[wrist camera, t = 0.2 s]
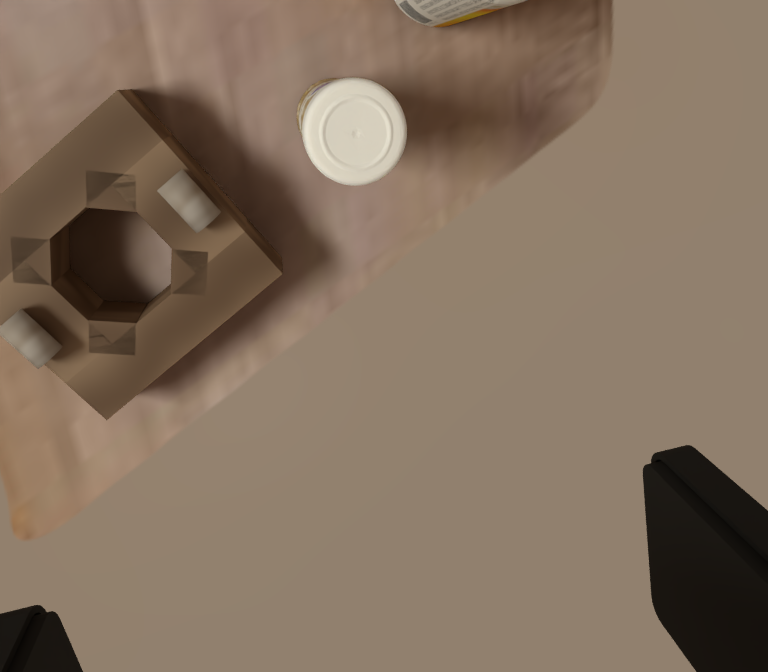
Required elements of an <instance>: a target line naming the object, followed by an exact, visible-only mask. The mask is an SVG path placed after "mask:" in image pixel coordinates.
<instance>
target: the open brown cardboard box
mask: <svg viewBox="0 0 768 672" xmlns="http://www.w3.org/2000/svg"><path fill="white" fill-rule="evenodd" d="M88 208H98V209H109V210H121V211H132V212H137V213H138V214H139V215H140V216H141V217H142V218H143V219H144V220H145V221H146V222H147V223H148V224H149V225H150V226H151V227H152V228H153V229H154V230H155V231H156V232H157V234H158V235H159V236H160V237H161V238H162V239H163V240H164V241H165V242H166V243H167V244H168V245H169V246H170V247H171V248H172V263H171V284H170V285H169V286H168V287H167V288H166V289H164V290H163V291H162V292H161V293H160V294H158V295H157V296H156V297H155V298H154V299H153V300H151V301H150V302H149V303H148V304H147V303H133V302H118V301H103V300H102V299H101V298H100V297H99V296H98V295H97V294H96V293H95V292H94V291H93V290H92V289H91V288H90V287H89V286H88V285H87V284H86V283H85V282H84V281H82V280H81V279H80V278H79V277H78V276H77V275H76V274H75V273H74V272H73V271H72V270H71V269H70V237H69V225H70V224H71V223H72V222H74V221H75V220H76V219H77V218H78V217H79V216H80V215H82V214H83V213H84V212H85V211H86V210H87V209H88ZM282 274H283V268H282V258H281V256H280V255H279V254H278V253H277V252H276V251H275V250H274V249H273V247H272V246H271V245H270V244H269V243H268V242H267V241H266V240H265V238H264V237H263V236H262V235H261V234H260V233H259V232H258V231H257V229H256V228H255V227H254V226H253V225H252V224H251V223H250V222H249V220H248V219H247V218H246V217H245V216H244V215H243V214H242V213H241V211H240V210H239V209H238V208H237V207H236V206H235V205H234V204H233V202H232V201H231V200H230V199H229V198H228V197H227V196H226V195H225V193H224V192H223V191H222V190H221V189H220V188H219V187H218V186H217V184H216V183H215V182H214V181H213V180H212V179H211V178H210V177H209V176H208V174H207V173H206V172H205V171H204V170H203V169H202V168H201V167H200V165H199V164H198V163H197V162H196V161H195V160H194V159H193V158H192V156H191V155H190V154H189V153H188V152H187V151H186V150H185V149H184V147H183V146H182V145H181V144H180V143H179V142H178V141H177V140H176V138H175V137H174V136H173V135H172V134H171V133H170V132H169V131H168V129H167V128H166V127H165V126H164V125H163V124H162V123H161V122H160V120H159V119H158V118H157V117H156V116H155V115H154V114H153V113H152V111H151V110H150V109H149V108H148V107H147V106H146V105H145V104H144V102H143V101H142V100H141V99H140V98H139V97H138V96H137V95H136V94H135V92H134V91H133V90H132V89H130V90H117V91H116V92H115V93H114V94H113V95H112V96H110V97H109V98H108V99H107V100H106V101H105V102H104V103H103V104H101V105H100V106H99V107H98V108H97V109H96V110H95V111H94V112H92V113H91V114H90V115H89V116H88V117H87V118H86V119H85V120H84V121H82V122H81V123H80V124H79V125H78V126H77V127H76V128H75V129H73V130H72V131H71V132H70V133H69V134H68V135H67V136H66V137H65V138H63V139H62V140H61V141H60V142H59V143H58V144H57V145H56V146H54V147H53V148H52V149H51V150H50V151H49V152H48V153H47V154H45V155H44V156H43V157H42V158H41V159H40V160H39V161H38V162H37V163H35V164H34V165H33V166H32V167H31V168H30V169H29V170H28V171H26V172H25V173H24V174H23V175H22V176H21V177H20V178H19V179H18V180H16V181H15V182H14V183H13V184H12V185H11V186H10V187H9V188H7V189H6V190H5V191H4V192H3V193H2V194H1V195H0V325H1V326H0V336H1V337H3V338H4V339H5V340H6V341H7V342H8V343H9V344H10V345H12V346H13V347H14V348H15V349H16V350H17V351H18V352H19V353H21V354H22V355H23V356H24V357H25V358H26V359H27V360H28V361H30V362H31V363H32V364H33V365H34V366H35V367H36V368H37V369H39V368H40V367H42V366H43V365H44V364H45V365H46V366H47V367H48V368H49V369H50V370H51V371H52V372H53V373H55V374H56V375H57V376H58V377H59V378H60V379H61V380H62V381H64V382H65V383H66V384H67V385H68V386H69V387H70V388H71V389H73V390H74V391H75V392H76V393H77V394H78V395H79V396H80V397H81V398H83V399H84V400H85V401H86V402H87V403H88V404H89V405H90V406H92V407H93V408H94V409H95V410H96V411H97V412H98V413H99V414H101V415H102V416H103V417H104V418H105V419H106V420H107V419H109V418H110V417H111V416H112V415H113V414H115V413H116V412H117V411H118V410H119V409H121V408H122V407H123V406H124V405H125V404H127V403H128V402H129V401H130V400H132V399H133V398H134V397H135V396H136V395H138V394H139V393H140V392H141V391H142V390H144V389H145V388H146V387H147V386H148V385H150V384H151V383H152V382H153V381H154V380H156V379H157V378H158V377H159V376H160V375H162V374H163V373H164V372H165V371H166V370H168V369H169V368H170V367H171V366H172V365H174V364H175V363H176V362H177V361H178V360H180V359H181V358H182V357H183V356H184V355H186V354H187V353H188V352H189V351H190V350H192V349H193V348H194V347H195V346H197V345H198V344H199V343H200V342H201V341H203V340H204V339H205V338H206V337H207V336H209V335H210V334H211V333H212V332H213V331H215V330H216V329H217V328H218V327H219V326H221V325H222V324H223V323H224V322H225V321H227V320H228V319H229V318H230V317H231V316H233V315H234V314H235V313H236V312H237V311H239V310H240V309H241V308H242V307H243V306H245V305H246V304H247V303H248V302H249V301H251V300H252V299H253V298H254V297H256V296H257V295H258V294H259V293H260V292H262V291H263V290H264V289H265V288H266V287H268V286H269V285H270V284H271V283H272V282H274V281H275V280H276V279H277V278H278V277H280V276H281V275H282Z"/></svg>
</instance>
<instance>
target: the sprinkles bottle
mask: <svg viewBox="0 0 768 672" xmlns="http://www.w3.org/2000/svg"><path fill="white" fill-rule="evenodd" d="M297 125H298V128H299V131H300V133H301V136H302V138H303V143H304V146H305V149H306V151H307V154H308V156H309V158H310V159H311V161H312V162H313V164H314V165H315V166H316V168H317V169H318V170H319V171H320V172H321V173H323V174H324V175H325V176H326V177H328V178H330V179H331V180H333V181H336V182H338V183H341V184H345V185H352V186H358V185H366V184H370V183H373V182H375V181H378V180H380V179H381V178H383V177H384V176H386V175H387V174H388V173H389V172H391V170H392V169H393V168H394V167H395V166H396V165H397V163H398V162H399V160H400V158H401V156H402V154H403V151H404V149H405V145H406V140H407V125H406V119H405V116H404V113H403V110H402V108H401V106H400V104H399V102H398V101H397V100H396V98H395V97H394V96H393V95H392V94H391V93H390V92H389V91H388V90H387V89H386V88H384V87H383V86H381V85H380V84H378V83H376V82H374V81H371V80H368V79H364V78H357V77H349V78H342V79H336V78H332V79H325V80H321V81H319V82H317V83H315V84H313V85H312V86H311V87H310V88H309V89H308V90H307V91H306V92H305V93H304V95H303V96H302V98H301V100H300V102H299V105H298V108H297Z"/></svg>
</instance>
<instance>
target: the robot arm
mask: <svg viewBox="0 0 768 672" xmlns="http://www.w3.org/2000/svg"><path fill="white" fill-rule="evenodd" d="M643 482H644V497H645V511H646V525H647V539H648V554H649V567H650V582H651V595H652V602H653V606H654V609H655V612H656V614H657V616H658V618H659V620H660V621H661V623H662V625H663V626H664V627H665V629H666V630H667V632H668V633H669V634H670V635H671V637H672V638H673V640H674V641H675V642H676V644H677V645H678V647H679V648H680V649H681V651H682V652H683V654H684V655H685V657H686V658H687V659H688V661H689V662H690V663H691V665H692V666H693V667H694V669H695V670H696V672H768V511H767V510H766V509H765V508H764V507H763V506H762V505H760V504H759V503H758V502H757V501H756V500H754V499H753V498H752V497H751V496H750V495H749V494H748V493H746V492H745V491H744V490H743V489H741V488H740V487H739V486H738V485H737V484H736V483H735V482H734V481H732V480H731V479H730V478H729V477H728V476H727V475H725V474H724V473H723V472H722V471H721V470H720V469H718V468H717V467H716V466H715V465H714V464H713V463H711V462H710V461H709V460H708V459H707V458H706V457H705V456H703V455H702V454H701V453H700V452H699V451H698V450H696V449H695V448H694V447H692V446H690V445H686V446H681V447H677V448H674V449H670V450H665V451H661V452H657V453H655V454H654V455H653V456H652V459H651V464H647V465H645V466H644V468H643ZM0 672H83V671H82V669H81V666H80V664H79V662H78V659H77V657H76V655H75V653H74V650H73V648H72V645H71V643H70V641H69V638H68V636H67V634H66V632H65V629H64V627H63V625H62V622H61V620H60V618H59V616H58V614H56V613H55V612H53V611H51V612H46V611H45V609H44V608H43V607H42V606H40V605H34V606H30V607H27V608H22V609H19V610H14V611H10V612H6V613H2V614H0Z"/></svg>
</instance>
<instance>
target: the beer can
mask: <svg viewBox="0 0 768 672" xmlns="http://www.w3.org/2000/svg"><path fill="white" fill-rule="evenodd" d="M394 1H395V2H396V4H397V5H398V7H399V8H400V9H401V10H402V11H403V12H404V13H405V14H406V15H407V16H408V17H409V18H411V19H413V20H414V21H416V22H418V23H420V24H423V25H426V26H431V27H445V26H450V25H453V24H456V23H459V22H462V21H465V20H468V19H472V18H475V17H478V16H481V15H484V14H487V13H490V12H493V11H496V10H499V9H502V8H505V7H509V6H512V5H515V4H518V3H521V2H524V1H527V0H394Z"/></svg>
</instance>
